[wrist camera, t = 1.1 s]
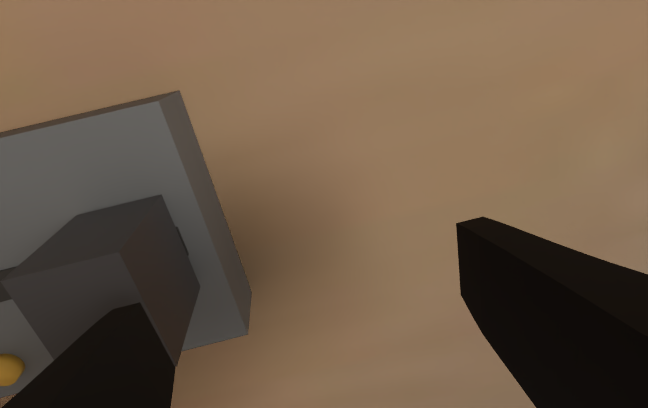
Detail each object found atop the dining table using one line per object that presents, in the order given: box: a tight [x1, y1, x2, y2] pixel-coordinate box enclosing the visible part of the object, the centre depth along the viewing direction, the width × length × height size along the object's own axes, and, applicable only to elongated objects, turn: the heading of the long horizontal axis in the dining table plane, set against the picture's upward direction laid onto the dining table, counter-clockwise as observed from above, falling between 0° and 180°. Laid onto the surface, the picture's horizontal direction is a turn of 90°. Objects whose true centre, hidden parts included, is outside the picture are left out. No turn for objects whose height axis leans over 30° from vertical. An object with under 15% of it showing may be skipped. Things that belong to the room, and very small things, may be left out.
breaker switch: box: [0, 194, 200, 366], centre depth 12 cm, size 4×3×4 cm
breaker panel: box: [0, 91, 252, 398], centre depth 15 cm, size 10×11×4 cm
